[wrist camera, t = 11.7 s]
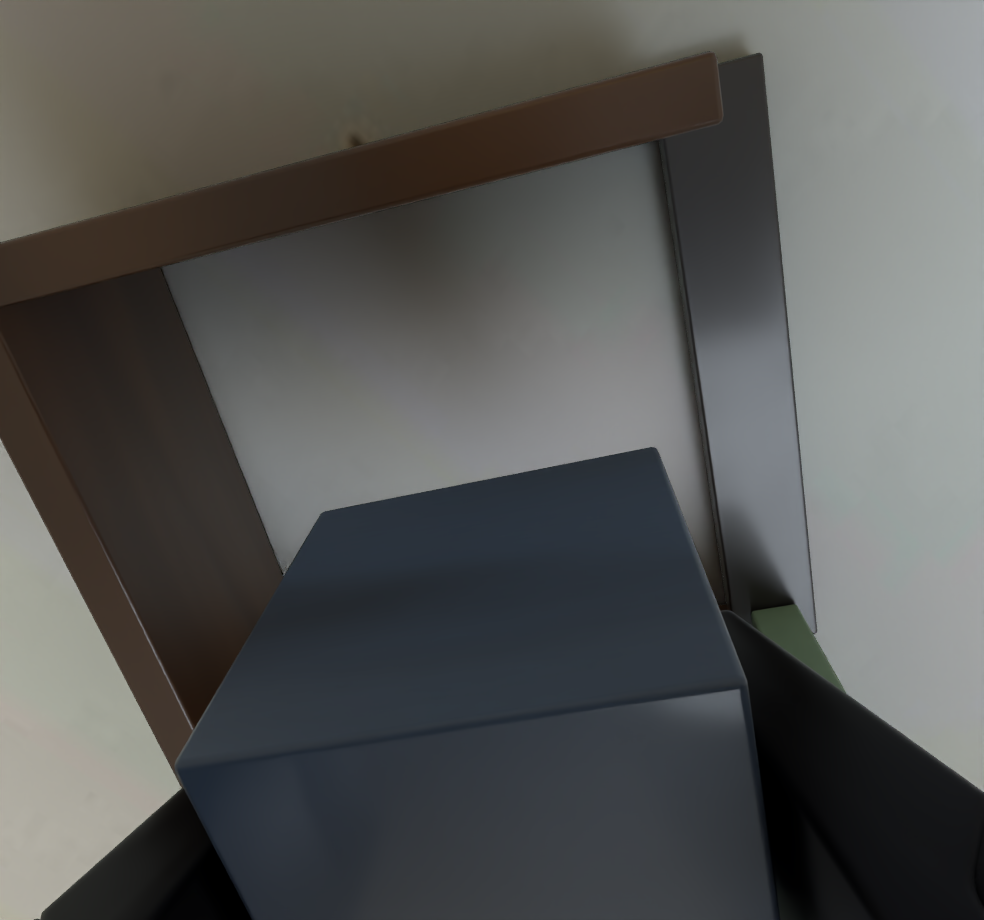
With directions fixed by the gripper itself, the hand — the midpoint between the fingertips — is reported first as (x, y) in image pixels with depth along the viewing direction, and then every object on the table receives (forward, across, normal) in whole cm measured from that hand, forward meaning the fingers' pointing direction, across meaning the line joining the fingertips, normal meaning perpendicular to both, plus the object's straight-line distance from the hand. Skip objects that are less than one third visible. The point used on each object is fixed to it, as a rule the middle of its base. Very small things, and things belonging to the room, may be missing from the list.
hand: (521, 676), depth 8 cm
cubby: (+8, +1, 0) cm, 8 cm away
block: (+1, 0, 0) cm, 1 cm away
